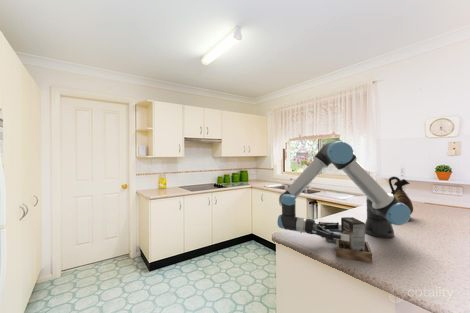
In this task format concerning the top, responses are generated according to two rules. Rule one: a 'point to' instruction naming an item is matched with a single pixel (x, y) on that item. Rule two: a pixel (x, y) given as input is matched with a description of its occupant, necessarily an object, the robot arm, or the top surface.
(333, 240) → the slate tray
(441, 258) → the top surface
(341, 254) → the walnut caddy
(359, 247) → the coffee box
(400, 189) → the ceramic jug
